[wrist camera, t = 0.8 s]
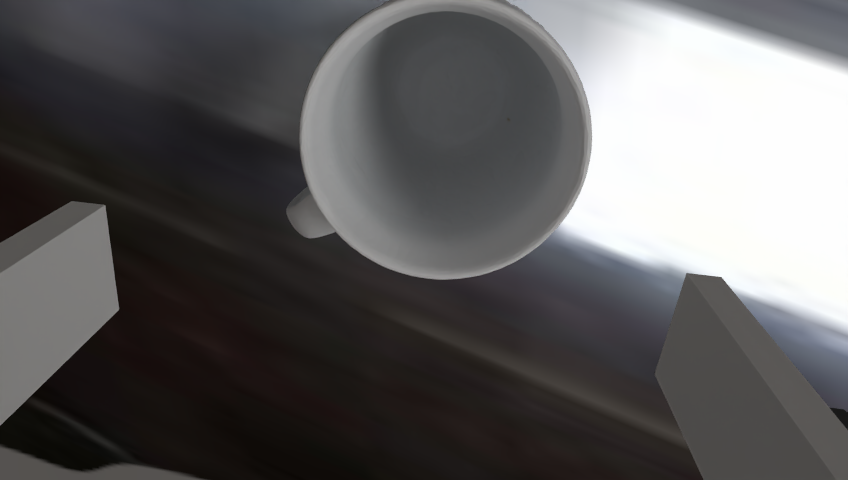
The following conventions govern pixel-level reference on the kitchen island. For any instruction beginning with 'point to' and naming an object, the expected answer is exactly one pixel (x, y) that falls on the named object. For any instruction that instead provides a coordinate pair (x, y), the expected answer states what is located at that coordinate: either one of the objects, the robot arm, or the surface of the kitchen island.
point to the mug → (442, 137)
